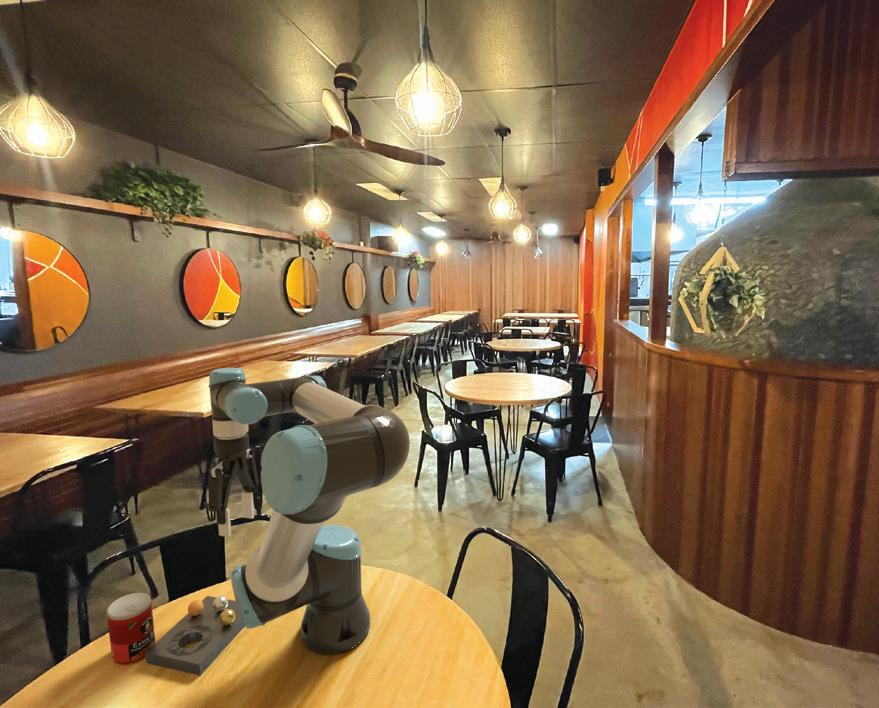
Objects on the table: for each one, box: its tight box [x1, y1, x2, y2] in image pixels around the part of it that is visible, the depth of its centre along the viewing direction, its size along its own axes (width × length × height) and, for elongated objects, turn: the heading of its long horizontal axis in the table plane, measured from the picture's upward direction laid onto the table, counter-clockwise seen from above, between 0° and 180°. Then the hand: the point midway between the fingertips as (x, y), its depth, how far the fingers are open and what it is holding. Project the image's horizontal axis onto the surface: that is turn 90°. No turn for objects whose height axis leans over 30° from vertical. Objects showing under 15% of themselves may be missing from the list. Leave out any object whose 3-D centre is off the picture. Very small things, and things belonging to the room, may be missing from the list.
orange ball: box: [187, 599, 204, 616], centre depth 107 cm, size 3×3×3 cm
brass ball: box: [219, 609, 235, 626], centre depth 104 cm, size 3×3×3 cm
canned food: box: [106, 592, 156, 666], centre depth 99 cm, size 8×8×11 cm
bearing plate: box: [144, 595, 246, 676], centre depth 103 cm, size 13×18×2 cm
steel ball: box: [213, 595, 229, 612], centre depth 108 cm, size 3×3×3 cm
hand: (237, 525), depth 113 cm, fingers open, 8 cm apart
